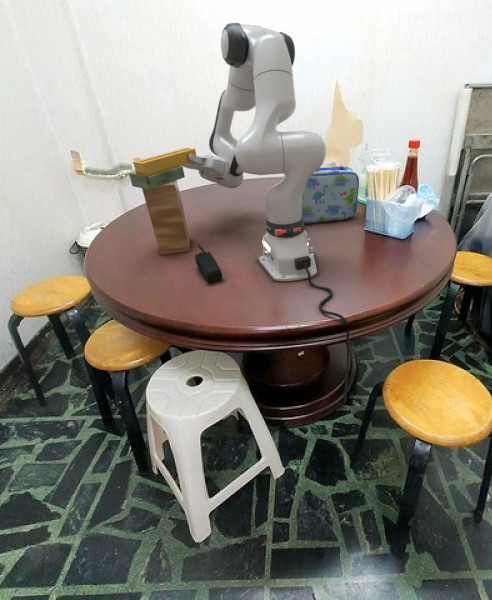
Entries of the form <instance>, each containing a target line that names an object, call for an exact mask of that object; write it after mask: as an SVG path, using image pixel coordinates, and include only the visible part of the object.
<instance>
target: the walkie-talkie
mask: <svg viewBox="0 0 492 600" xmlns="http://www.w3.org/2000/svg"><path fill="white" fill-rule="evenodd" d="M197 246H198V248H199V249H200V252H198V253H197V254H195V255H194V260H195V263H196V266H197V267H198V269H199V270H200V272H201V274H202V276H203V277H204V278H205V280H206V281H207V282H208V283H211V282H214V281H218V280H222V279H223V273H222V270H221V268H220V266H219V264H218V263H217V261H216V259H215V258H214V256H213V254H212V253H211V252H210V251H205V249H204V247H202V246H201V244H200V243H198V244H197Z"/></svg>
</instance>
